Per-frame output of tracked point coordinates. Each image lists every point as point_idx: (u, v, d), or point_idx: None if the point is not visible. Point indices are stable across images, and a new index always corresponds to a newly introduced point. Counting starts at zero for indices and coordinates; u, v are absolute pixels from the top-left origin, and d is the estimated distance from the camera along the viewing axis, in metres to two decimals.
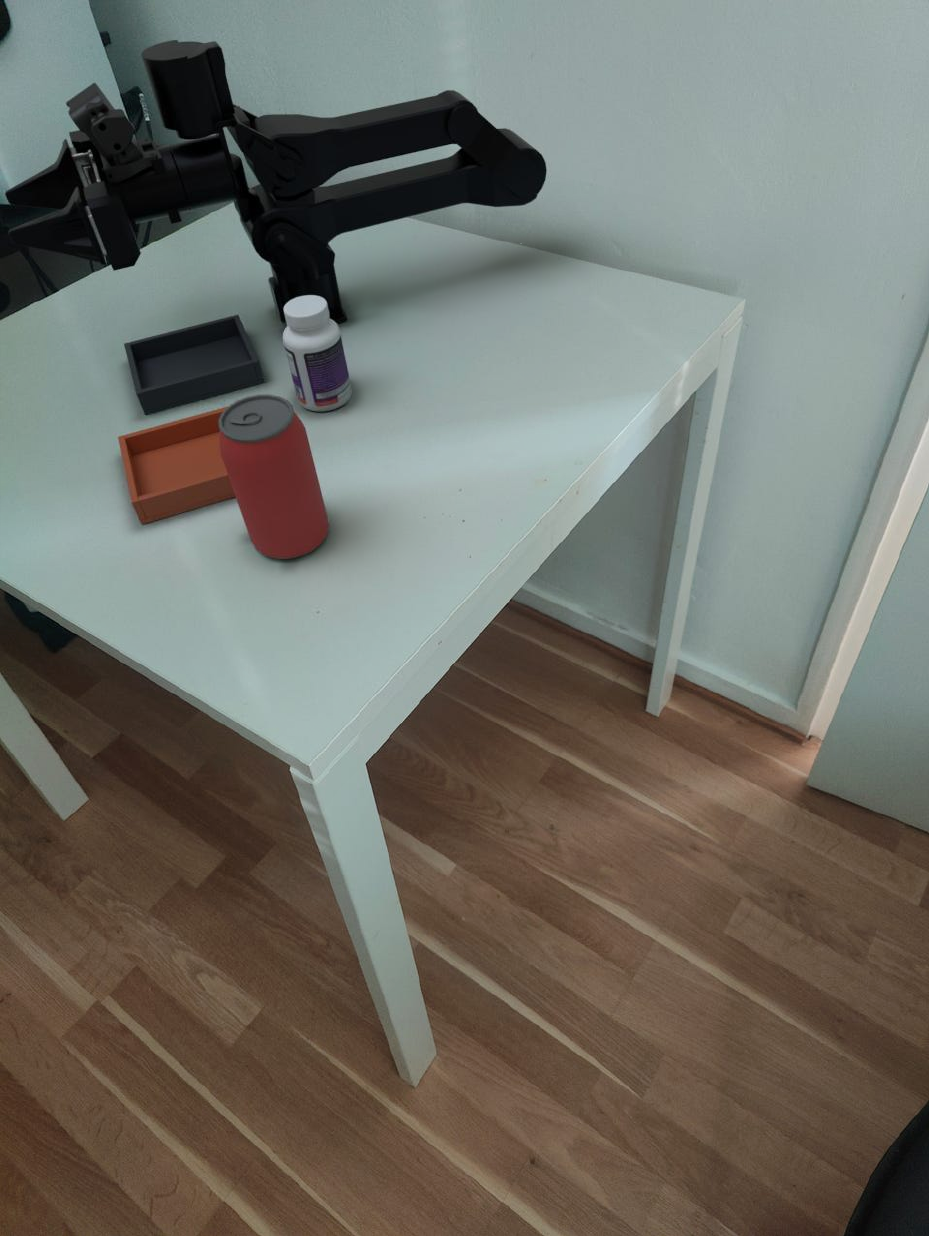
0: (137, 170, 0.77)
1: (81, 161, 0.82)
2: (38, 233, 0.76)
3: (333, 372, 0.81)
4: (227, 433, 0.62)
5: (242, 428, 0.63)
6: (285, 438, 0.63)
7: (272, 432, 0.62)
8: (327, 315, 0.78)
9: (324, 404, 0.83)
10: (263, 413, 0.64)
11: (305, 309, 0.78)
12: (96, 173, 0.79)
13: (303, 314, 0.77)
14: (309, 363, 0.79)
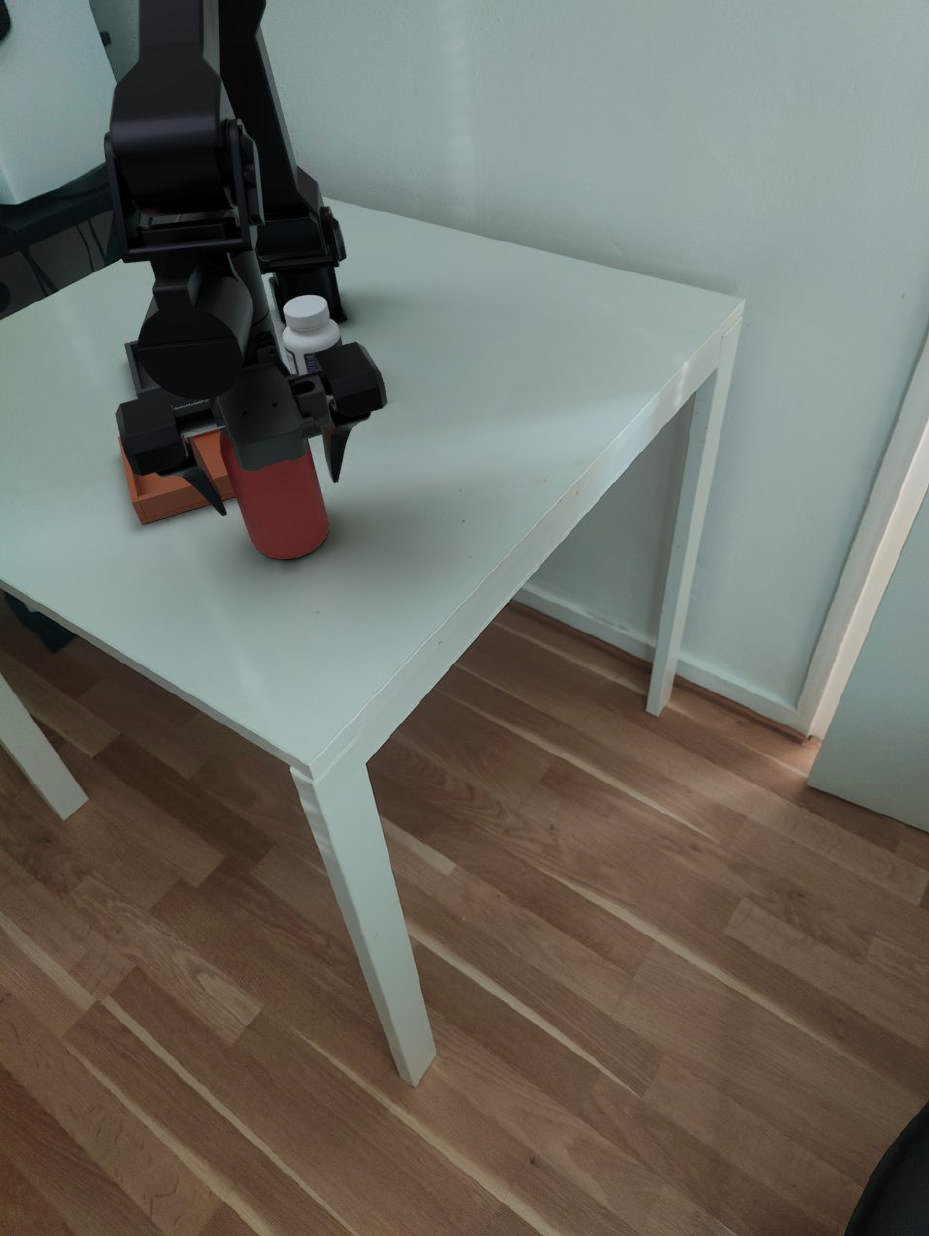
0: (286, 366, 0.59)
1: (186, 446, 0.61)
2: None
3: None
4: (227, 434, 0.62)
5: None
6: None
7: None
8: (327, 315, 0.78)
9: None
10: None
11: (305, 309, 0.78)
12: None
13: (303, 314, 0.77)
14: (309, 363, 0.79)
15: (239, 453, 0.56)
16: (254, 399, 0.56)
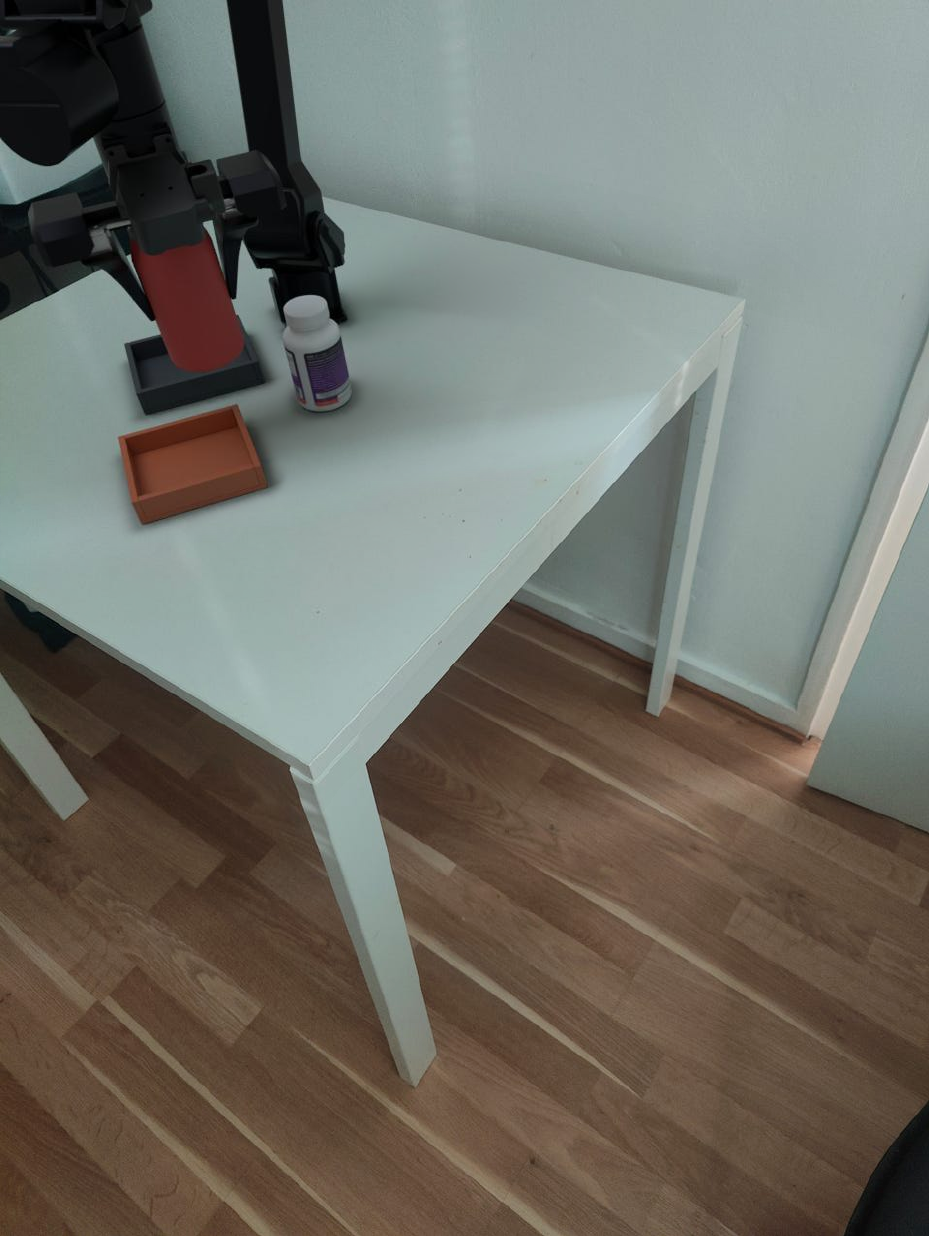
0: (184, 159, 0.63)
1: (109, 239, 0.66)
2: None
3: (333, 372, 0.81)
4: (134, 237, 0.66)
5: None
6: None
7: None
8: (327, 315, 0.78)
9: (324, 404, 0.83)
10: None
11: (305, 309, 0.78)
12: None
13: (303, 314, 0.77)
14: (309, 363, 0.79)
15: (138, 233, 0.60)
16: (151, 183, 0.60)
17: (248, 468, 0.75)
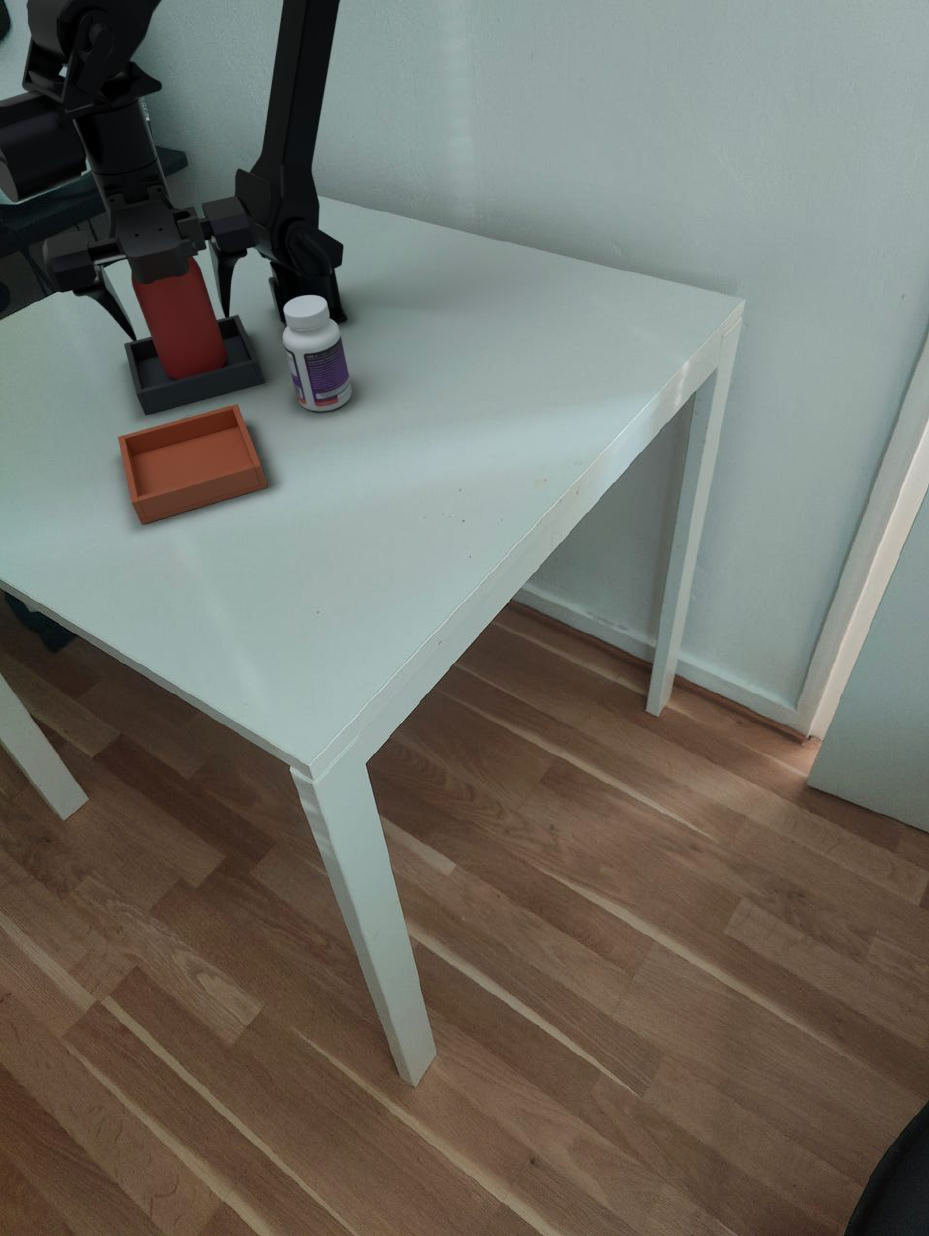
0: (173, 205, 0.76)
1: (97, 273, 0.78)
2: None
3: (333, 372, 0.81)
4: None
5: None
6: None
7: None
8: (327, 315, 0.78)
9: (324, 404, 0.83)
10: None
11: (305, 309, 0.78)
12: None
13: (303, 314, 0.77)
14: (309, 363, 0.79)
15: (132, 266, 0.73)
16: (144, 225, 0.73)
17: (248, 468, 0.75)
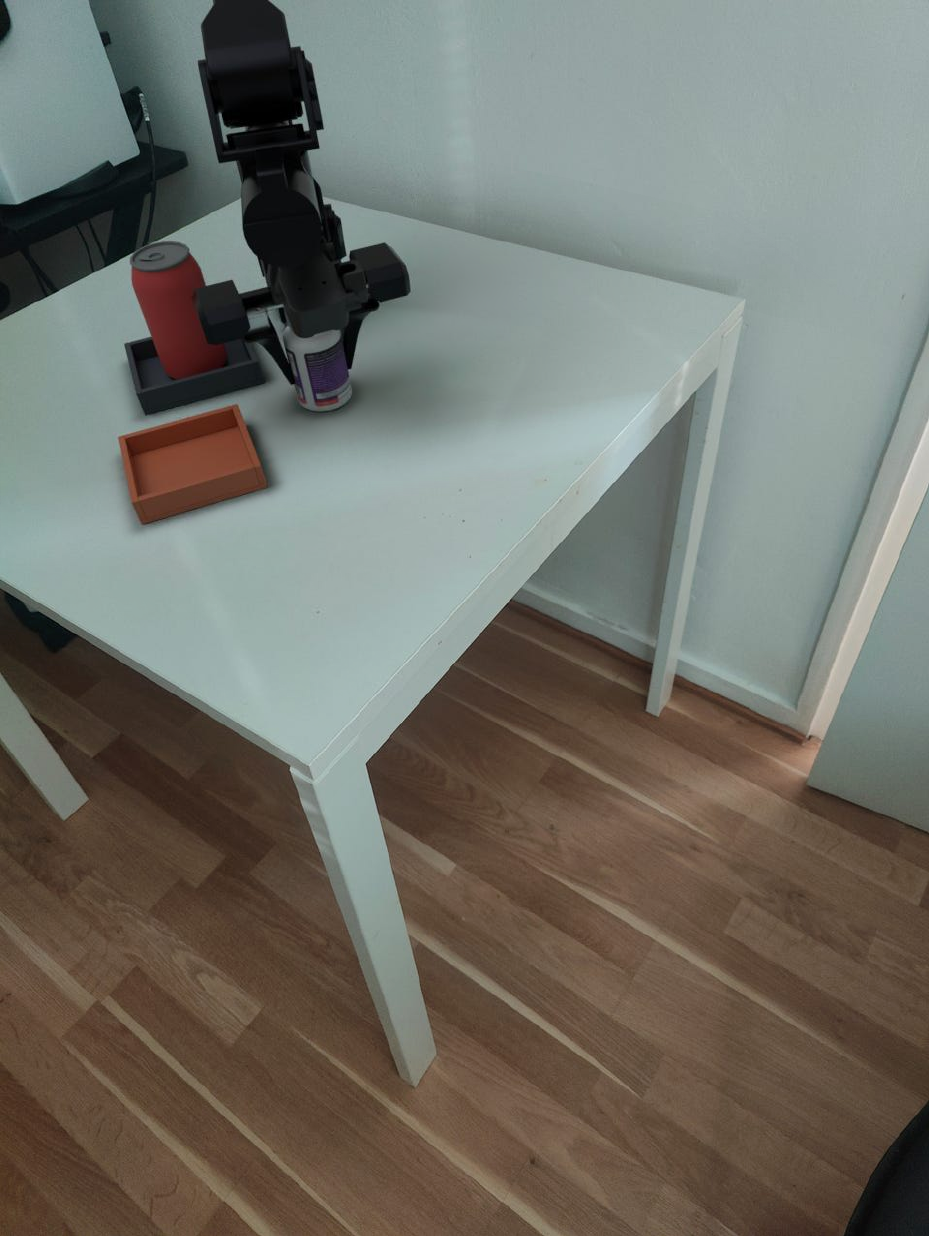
0: None
1: None
2: None
3: (334, 372, 0.81)
4: (135, 265, 0.80)
5: (148, 263, 0.80)
6: (181, 270, 0.80)
7: (170, 264, 0.79)
8: None
9: (324, 404, 0.83)
10: (165, 253, 0.81)
11: None
12: None
13: None
14: (309, 363, 0.79)
15: (296, 320, 0.70)
16: (307, 278, 0.71)
17: (248, 468, 0.75)
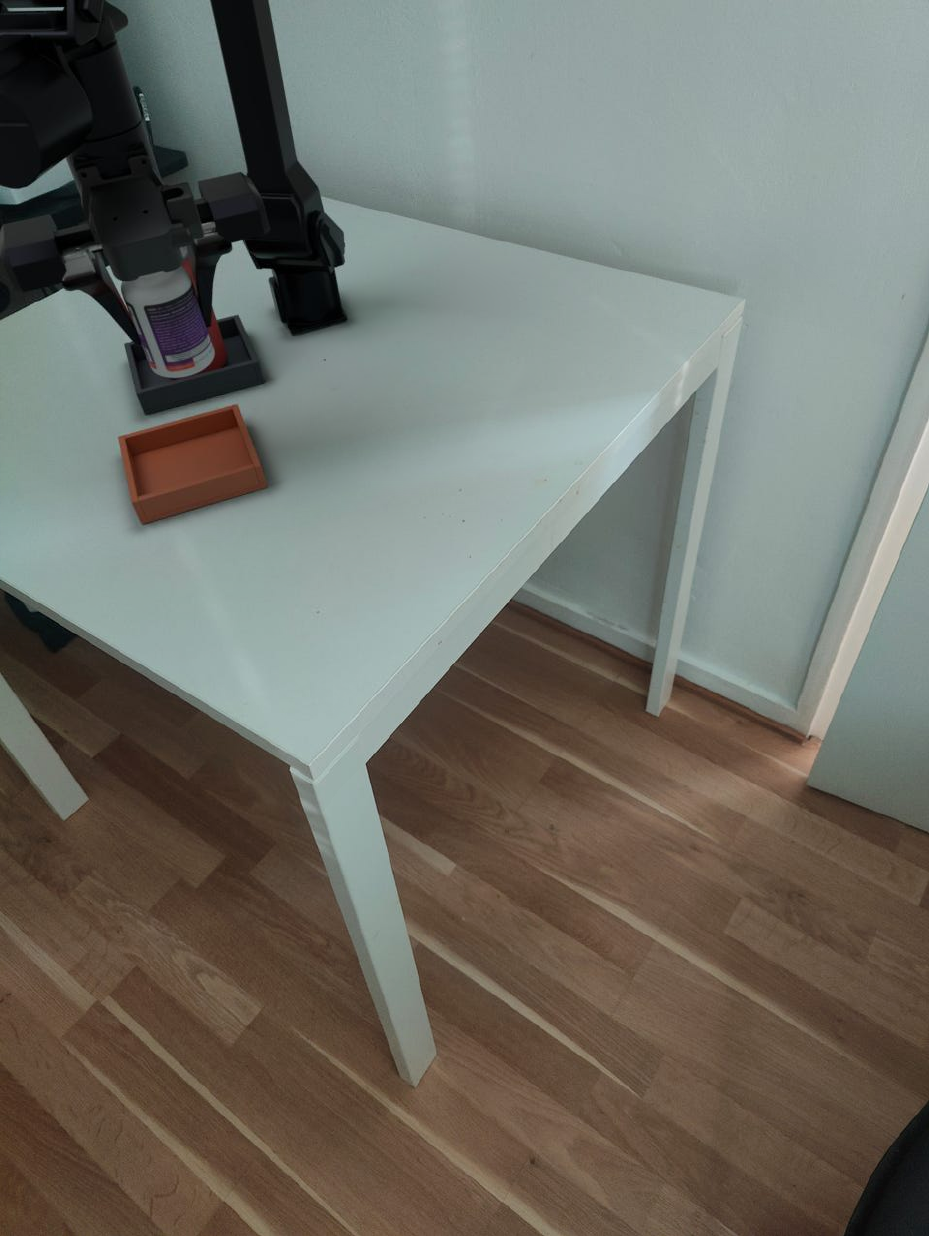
0: None
1: (92, 262, 0.63)
2: None
3: (184, 329, 0.68)
4: None
5: None
6: None
7: None
8: None
9: (177, 369, 0.70)
10: None
11: None
12: None
13: None
14: (151, 318, 0.66)
15: (110, 258, 0.57)
16: (125, 206, 0.57)
17: (248, 468, 0.75)
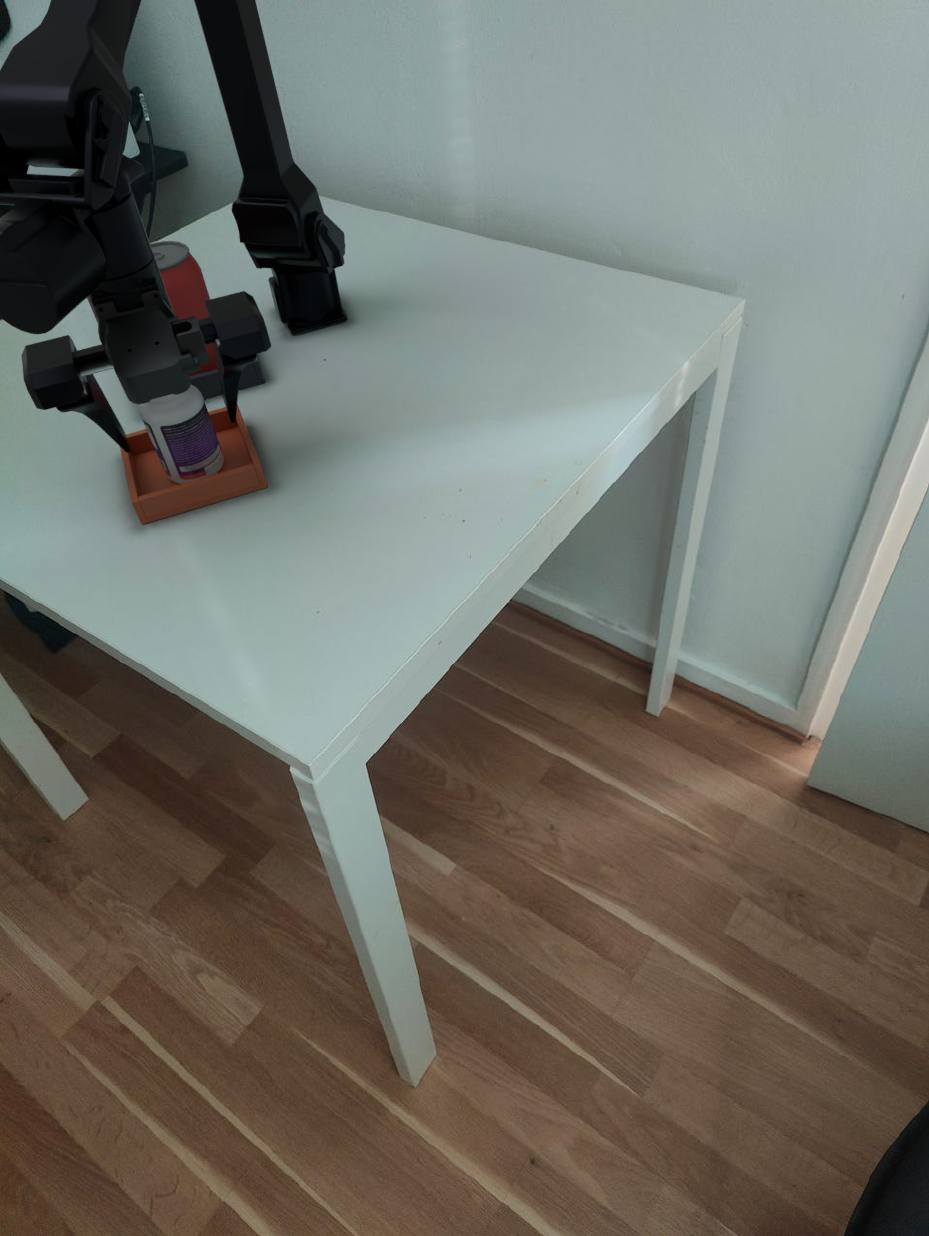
0: (172, 310, 0.65)
1: (84, 385, 0.68)
2: None
3: (197, 444, 0.74)
4: None
5: None
6: (181, 270, 0.80)
7: (170, 264, 0.79)
8: None
9: (190, 477, 0.76)
10: (165, 253, 0.81)
11: None
12: None
13: None
14: (167, 436, 0.73)
15: (125, 386, 0.63)
16: (138, 338, 0.63)
17: (248, 468, 0.75)
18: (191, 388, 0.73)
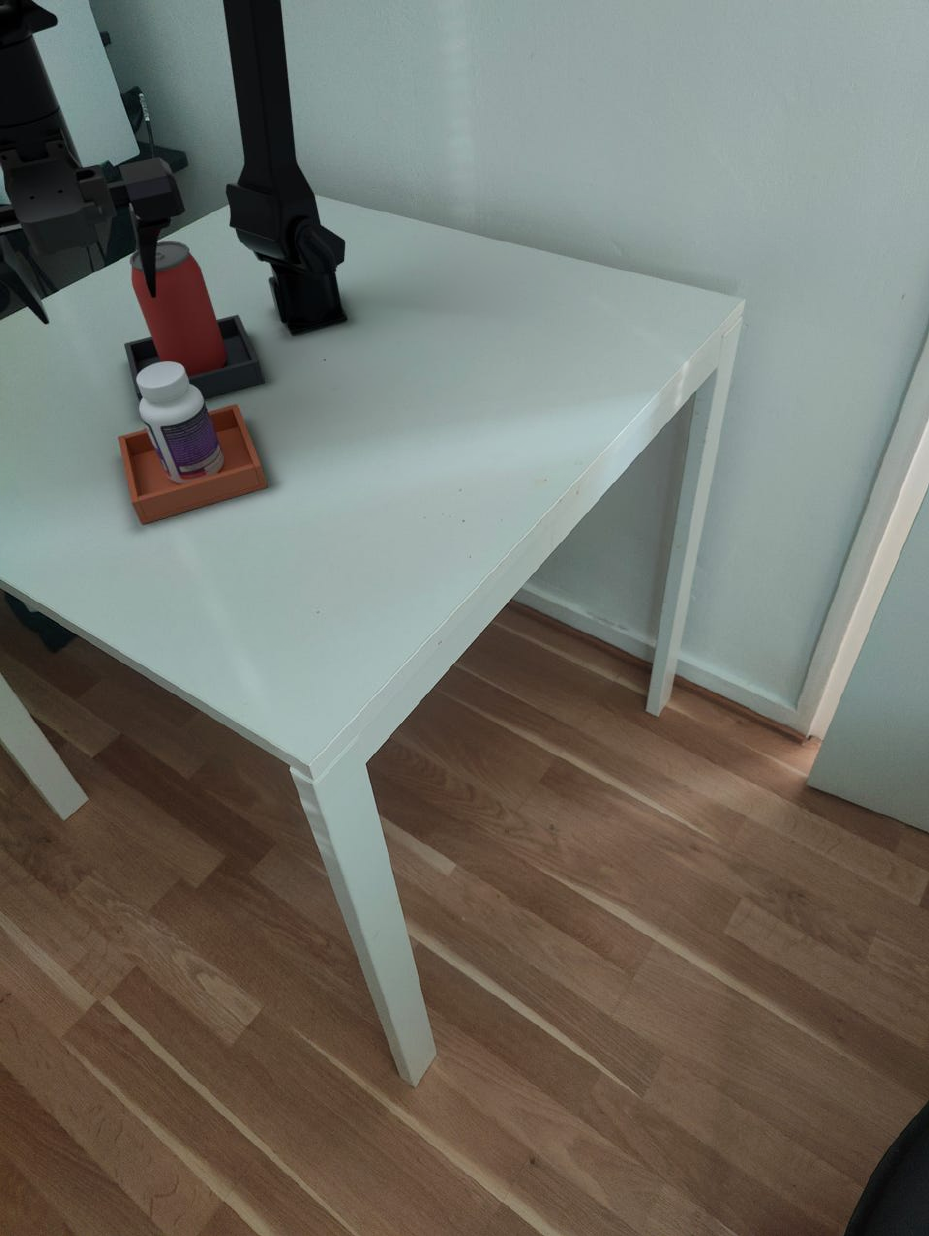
0: (79, 164, 0.65)
1: None
2: None
3: (197, 444, 0.74)
4: (135, 265, 0.80)
5: None
6: (181, 270, 0.80)
7: (170, 264, 0.79)
8: (185, 384, 0.71)
9: (190, 477, 0.76)
10: (165, 253, 0.81)
11: (159, 378, 0.71)
12: None
13: (156, 385, 0.70)
14: (167, 436, 0.73)
15: (28, 234, 0.62)
16: (42, 186, 0.63)
17: (248, 468, 0.75)
18: (191, 388, 0.73)
